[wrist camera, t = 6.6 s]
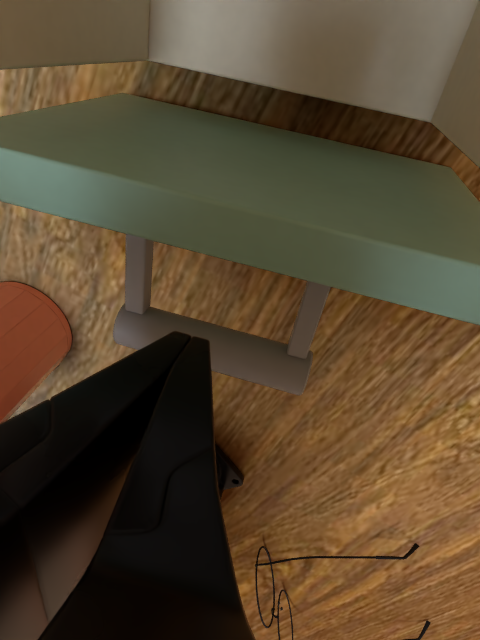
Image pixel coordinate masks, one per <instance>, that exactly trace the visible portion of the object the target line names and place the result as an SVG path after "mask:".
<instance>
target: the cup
mask: <svg viewBox="0 0 480 640" xmlns="http://www.w3.org/2000/svg"><path fill="white" fill-rule="evenodd" d="M71 344H72V334H71V329H70V326H69V324H68V321H67V320H66V318H65V316H64V315H63V313H62V312H61V310H60V309H59V308H58V307H57V305H56V304H55V303H54V302H53V301H52V300H50V299H49V298H48V297H47V296H45V295H44V294H43V293H41V292H40V291H38V290H36V289H34V288H32V287H30V286H28V285H25V284H22V283H18V282H0V424H1V423H3V422H5V421H7V420H8V419H9V418H10V416H11V415H12V414H13V413H14V412H15V411H16V410H17V409H18V408H19V407H20V406H21V405H22V403H23V402H24V401H25V400H26V399H27V398H28V397H29V396H30V395H31V394H32V393H33V392H34V391H35V389H36V388H37V387H38V386H39V385H40V384H41V383H42V382H43V381H44V380H45V379H46V378H47V376H48V375H49V374H50V373H51V372H52V371H53V370H54V369H55V368H56V367H57V366H58V365H59V364H60V362H61V361H62V360H63V358H64V357H65V356H66V355H67V354H68V352H69V350H70V348H71Z"/></svg>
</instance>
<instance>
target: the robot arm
mask: <svg viewBox="0 0 480 640" xmlns="http://www.w3.org/2000/svg"><path fill="white" fill-rule="evenodd" d="M243 480H244V476H243V475H242V474H241V472H240V471H239V470H238V469H237V468H236V467H235V465H234V464H233V463H232V462H231V461H230V460H229V459H228V457H227V456H226V455H225V454H224V453H223V452H222V450H221V449H220V448H219V447H218V446H217V445H216V444H215V434H214V414H213V394H212V375H211V355H210V341H209V340H208V339H204V338H201V337H197V336H193V337H191V335H190V334H186V333H183V332H179V331H173V332H171V333H169V334H167V335H165V336H164V337H162V338H160V339H158V340H156V341H154V342H152V343H151V344H149V345H147V346H145V347H143V348H141V349H140V350H138V351H136V352H134V353H132V354H130V355H128V356H127V357H125V358H123V359H121V360H119V361H117V362H116V363H114V364H112V365H110V366H108V367H106V368H105V369H103V370H101V371H99V372H97V373H95V374H93V375H92V376H90V377H88V378H86V379H84V380H82V381H81V382H79V383H77V384H75V385H73V386H71V387H70V388H68V389H66V390H64V391H62V392H60V393H58V394H57V395H55V396H53V397H51V399H50V400H45V401H43V402H42V403H40V404H38V405H36V406H34V407H32V408H31V409H29V410H27V411H25V412H23V413H21V414H19V415H17V416H15V417H13V418H11V419H9V420H7V421H5V422H3V423H1V424H0V640H256V639H255V637H254V635H253V633H252V630H251V628H250V626H249V624H248V621H247V618H246V615H245V611H244V608H243V605H242V601H241V597H240V594H239V590H238V585H237V581H236V577H235V572H234V567H233V562H232V557H231V553H230V548H229V543H228V538H227V533H226V528H225V524H224V519H223V514H222V508H221V502H220V500H221V497H222V493H223V490H225V489H230V488H234V487H238V486H241V485H242V484H243Z"/></svg>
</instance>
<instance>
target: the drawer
mask: <svg viewBox="0 0 480 640" xmlns="http://www.w3.org/2000/svg"><path fill="white" fill-rule="evenodd" d="M146 60H147V61H151V62H156V63H161V64H165V65H170V66H174V67H179V68H183V69H188V70H193V71H197V72H202V73H206V74H211V75H215V76H220V77H225V78H229V79H234V80H238V81H243V82H247V83H252V84H257V85H261V86H266V87H270V88H275V89H279V90H284V91H289V92H293V93H298V94H302V95H307V96H311V97H316V98H320V99H325V100H330V101H334V102H339V103H343V104H348V105H352V106H357V107H362V108H366V109H371V110H375V111H380V112H384V113H389V114H394V115H398V116H403V117H407V118H412V119H416V120H421V121H426V122H430V123H432V124H433V125H434V126H435V127H436V128H437V129H438V130H439V131H441V132H442V133H443V134H444V135H445V136H446V137H447V138H448V139H449V140H450V141H451V142H452V143H453V144H454V145H456V146H457V147H458V148H459V149H460V150H461V151H462V152H463V153H464V154H465V155H466V156H467V157H468V158H469V159H470V160H472V161H473V162H474V163H475V164H476V165H477V166H478V167H479V168H480V0H0V69H16V68H33V67H49V66H66V65H83V64H99V63H116V62H132V61H146ZM0 201H2V202H5V203H9V204H13V205H17V206H21V207H25V208H29V209H32V210H36V211H40V212H44V213H48V214H52V215H56V216H59V217H63V218H67V219H71V220H75V221H79V222H83V223H86V224H90V225H94V226H98V227H102V228H106V229H110V230H113V231H117V232H121V233H125V234H126V280H125V304H124V305H123V306H122V307H121V309H120V311H119V313H118V315H117V317H116V320H115V324H114V331H113V337H114V341H115V342H116V343H117V344H120V345H123V346H127V347H130V348H134V349H137V350H140V349H141V348H143V347H145V346H147V345H149V344H151V343H152V342H154V341H156V340H158V339H160V338H162V337H164V336H165V335H167V334H169V333H171V332H173V331H179V332H183V333H186V334H190V335H191V337H193V336H197V337H201V338H204V339H208V340H209V341H210V355H211V371H215V372H218V373H222V374H225V375H229V376H232V377H236V378H239V379H243V380H246V381H250V382H253V383H257V384H260V385H264V386H268V387H271V388H275V389H278V390H282V391H285V392H289V393H292V394H296V395H302V393H303V392H304V389H305V387H306V384H307V381H308V377H309V374H310V370H311V365H312V359H313V353H312V352H311V351H310V350H309V349H310V346H311V343H312V341H313V338H314V335H315V332H316V329H317V326H318V323H319V320H320V317H321V314H322V311H323V309H324V306H325V303H326V300H327V297H328V294H329V291H330V288H331V287H334V288H337V289H341V290H345V291H349V292H353V293H357V294H361V295H364V296H368V297H372V298H376V299H380V300H384V301H388V302H391V303H395V304H399V305H403V306H407V307H411V308H415V309H418V310H422V311H426V312H430V313H434V314H438V315H442V316H446V317H449V318H453V319H457V320H461V321H465V322H469V323H473V324H476V325H480V202H479V201H478V200H477V199H476V197H475V196H474V195H473V194H472V193H471V191H470V190H469V189H468V188H467V187H466V185H465V184H464V183H463V182H462V181H461V179H460V178H459V177H458V176H457V175H456V173H455V172H454V171H453V170H452V169H451V168H450V167H446V166H442V165H437V164H433V163H429V162H424V161H420V160H415V159H411V158H407V157H402V156H398V155H393V154H389V153H385V152H380V151H376V150H371V149H367V148H363V147H358V146H354V145H349V144H345V143H341V142H336V141H332V140H327V139H323V138H319V137H314V136H310V135H305V134H301V133H297V132H292V131H288V130H283V129H279V128H275V127H270V126H266V125H261V124H257V123H253V122H248V121H244V120H239V119H235V118H231V117H226V116H222V115H217V114H213V113H209V112H204V111H200V110H195V109H191V108H187V107H182V106H178V105H173V104H169V103H165V102H160V101H156V100H151V99H147V98H143V97H138V96H134V95H129V94H125V93H120V94H115V95H110V96H105V97H100V98H94V99H89V100H84V101H79V102H74V103H69V104H64V105H59V106H53V107H48V108H43V109H38V110H33V111H28V112H23V113H18V114H13V115H7V116H2V117H0ZM153 241H156V242H160V243H164V244H168V245H171V246H175V247H179V248H183V249H187V250H191V251H195V252H198V253H202V254H206V255H210V256H214V257H218V258H222V259H225V260H229V261H233V262H237V263H241V264H245V265H249V266H252V267H256V268H260V269H264V270H268V271H272V272H276V273H279V274H283V275H287V276H291V277H295V278H299V279H303V280H307V283H306V287H305V290H304V293H303V297H302V300H301V303H300V306H299V310H298V313H297V316H296V320H295V323H294V326H293V330H292V333H291V336H290V340H289V343H288V344H284V343H281V342H277V341H273V340H270V339H266V338H262V337H259V336H255V335H251V334H248V333H244V332H240V331H237V330H233V329H230V328H226V327H222V326H219V325H215V324H211V323H208V322H204V321H200V320H197V319H193V318H189V317H186V316H182V315H178V314H175V313H171V312H167V311H164V310H160V309H157V308H153V307H149V306H150V299H151V280H152V260H153Z"/></svg>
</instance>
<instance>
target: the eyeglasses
mask: <svg viewBox="0 0 480 640" xmlns="http://www.w3.org/2000/svg"><path fill="white" fill-rule="evenodd" d="M418 547H419V545H417V544H416V543H415V544H414V545H413V547H412V548H411V549H410V551H409V552H408V553H407V554H406V555H405V556H404V557H395V556H376V557H375V556H311V557H299V558H291V559H285V560H280V561H275V562H271V559H270V556H269V553H268V551H267V549H266V548H265V547H264V546H262V547H261V548H260V549H259V551H258V555H257V561H256V564H255V566H256V595H257V604H258V609H259V614H260V618H261V621H262V623H263V625H264V626H265V627H266V628H269V627H270V626H271V624H272V621H273V616H274V617H275V618H278V636H279V640H280V633H279V604H280V602H279V601H280V595H281V592H282V591H284V592H285V590H281V592H280V594H279V599H278V615H277V616H275V615H274V610H275V608H274V607H275V588H274V576H273V569H272V564H275V563H280V562H285V561H290V560H298V559H309V558H376V559H406V558H407V557H408V556H410V555H411V554H412V553H413V552H414V551H415V550H416V549H417V548H418ZM262 548H264V549H265V550H266V552H267V554H268V557H269V561H270V563H263V564H259V565H271V571H272V578H273V600H274V601H273V608H272V610H273V611H272V610H271V612H272V619H271V623H270V625H269V626H268V627H267V626H266V625H265V624H264V622H263V619H262V616H261V612H260V607H259V600H258V591H257V566H258V557H259V553H260V550H261V549H262ZM285 594H286V596H287V593H286V592H285ZM287 600H288V604H289V609H290V603H289V599H288V596H287ZM280 609H281V610H283V608H282V607H281V608H280ZM290 616H291V626H292V640H293V624H292V615H291V609H290ZM429 625H430V622H429V621H426V623H425V626H424V628H423V630H422V632H421V634H420V636H419V637H418V638H417V639H405V640H420V639H421V638H422V636H423V635H424V633H425V631H426V630H427V628H428V627H429Z"/></svg>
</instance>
